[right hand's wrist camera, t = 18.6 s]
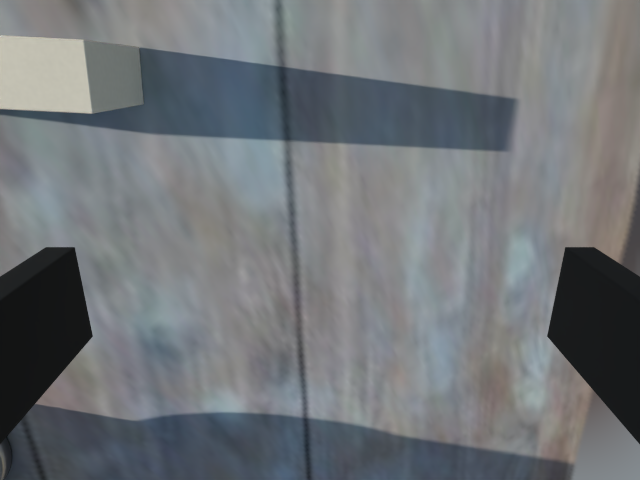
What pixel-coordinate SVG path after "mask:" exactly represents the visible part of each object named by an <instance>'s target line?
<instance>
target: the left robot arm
mask: <svg viewBox="0 0 640 480" xmlns="http://www.w3.org/2000/svg"><path fill="white" fill-rule="evenodd" d="M11 462H12V454H11V448H10V445H9V442H8V440H7V438H5V439H4V440H3V441H2V443H1V444H0V480H4V478H5V477H6V476H7V474H8V472H9V470H10V467H11Z"/></svg>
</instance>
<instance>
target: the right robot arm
mask: <svg viewBox="0 0 640 480" xmlns="http://www.w3.org/2000/svg"><path fill="white" fill-rule="evenodd" d="M92 337H93V335H92V331H91V326H90V321H89V316H88V311H87V306H86V301H85V296H84V291H83V286H82V281H81V277H80V272H79V267H78V262H77V257H76V252H75V247H46V248H44V249H43V250H41V251H40V252H38V253H36V254H35V255H33V256H32V257H30V258H29V259H27V260H26V261H24V262H22V263H21V264H19V265H18V266H16V267H15V268H13V269H12V270H10V271H8V272H7V273H5V274H4V275H2V276H1V277H0V444H1V443H2V441H3V440H4V439H5V438H6V437H7V436H8V434H9V433H10V432H11V431H12V430H13V429H14V427H15V426H16V425H17V424H18V423H19V422H20V420H21V419H22V418H23V417H24V416H25V415H26V413H27V412H28V411H29V410H30V409H31V408H32V406H33V405H34V404H35V403H36V402H37V401H38V399H39V398H40V397H41V396H42V395H43V394H44V393H45V391H46V390H47V389H48V388H49V387H50V386H51V384H52V383H53V382H54V381H55V380H56V379H57V377H58V376H59V375H60V374H61V373H62V372H63V370H64V369H65V368H66V367H67V366H68V365H69V363H70V362H71V361H72V360H73V359H74V358H75V356H76V355H77V354H78V353H79V352H80V351H81V349H82V348H83V347H84V346H85V345H86V344H87V342H88V341H89V340H90V339H91V338H92ZM547 337H548V338H549V339H550V340H551V341H552V342H553V344H554V345H555V346H556V347H557V348H558V349H559V351H560V352H561V353H562V354H563V355H564V356H565V358H566V359H567V360H568V361H569V362H570V363H571V365H572V366H573V367H574V368H575V369H576V370H577V372H578V373H579V374H580V375H581V376H582V377H583V379H584V380H585V381H586V382H587V383H588V384H589V386H590V387H591V388H592V389H593V390H594V391H595V393H596V394H597V395H598V396H599V397H600V398H601V400H602V401H603V402H604V403H605V404H606V405H607V406H608V408H609V409H610V410H611V411H612V412H613V413H614V415H615V416H616V417H617V418H618V419H619V420H620V422H621V423H622V424H623V425H624V426H625V427H626V429H627V430H628V431H629V432H630V433H631V434H632V436H633V437H634V438H635V439H636V440H637V441H638V443H639V444H640V277H639V276H638V275H636V274H635V273H633V272H632V271H630V270H628V269H627V268H625V267H624V266H622V265H621V264H619V263H618V262H616V261H614V260H613V259H611V258H610V257H608V256H607V255H605V254H604V253H602V252H600V251H599V250H597V249H596V248H594V247H565V252H564V257H563V262H562V267H561V272H560V277H559V281H558V286H557V291H556V296H555V301H554V306H553V311H552V316H551V321H550V326H549V331H548V335H547Z"/></svg>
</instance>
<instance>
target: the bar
mask: <svg viewBox="0 0 640 480" xmlns="http://www.w3.org/2000/svg"><path fill="white" fill-rule="evenodd" d="M142 104H144V101H143V89H142V77H141V65H140V53H139V47H134V46H126V45H119V44H111V43H104V42H97V41H89V40H80V39H61V38H42V37H23V36H4V35H0V109H8V110H28V111H48V112H68V113H88V114H94V113H99V112H105V111H110V110H115V109H121V108H126V107H132V106H137V105H142Z"/></svg>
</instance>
